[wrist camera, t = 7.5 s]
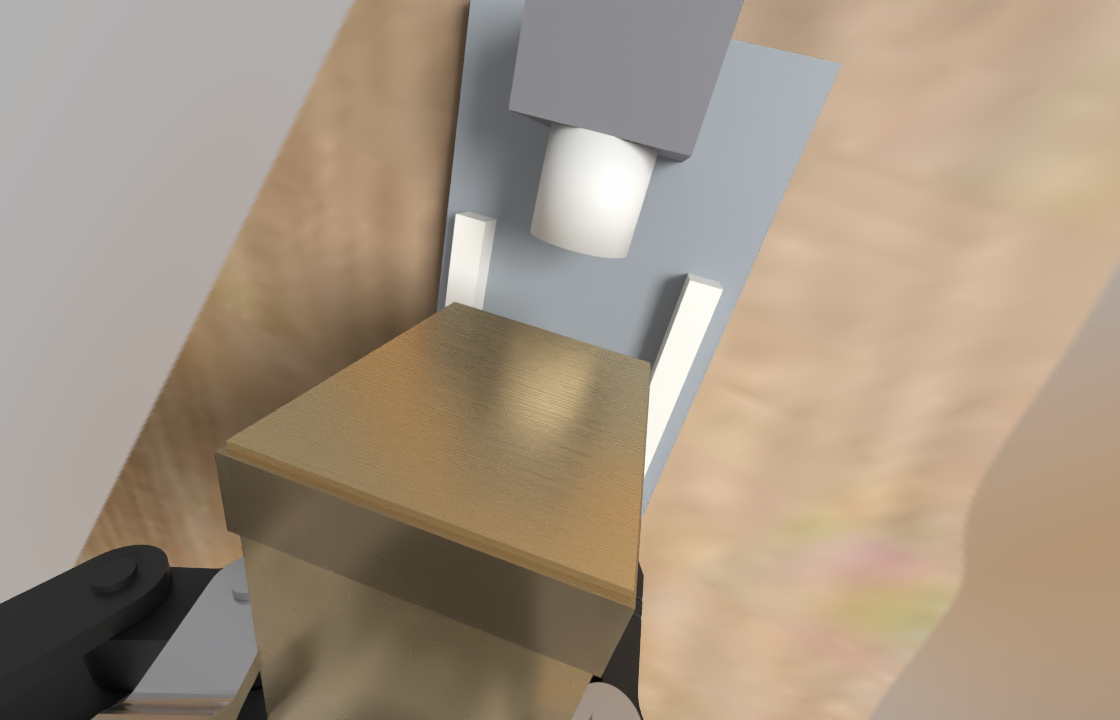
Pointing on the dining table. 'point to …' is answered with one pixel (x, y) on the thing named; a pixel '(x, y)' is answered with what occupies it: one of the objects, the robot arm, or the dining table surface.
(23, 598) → the robot arm
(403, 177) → the dining table surface
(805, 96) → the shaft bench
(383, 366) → the tan tapered block
